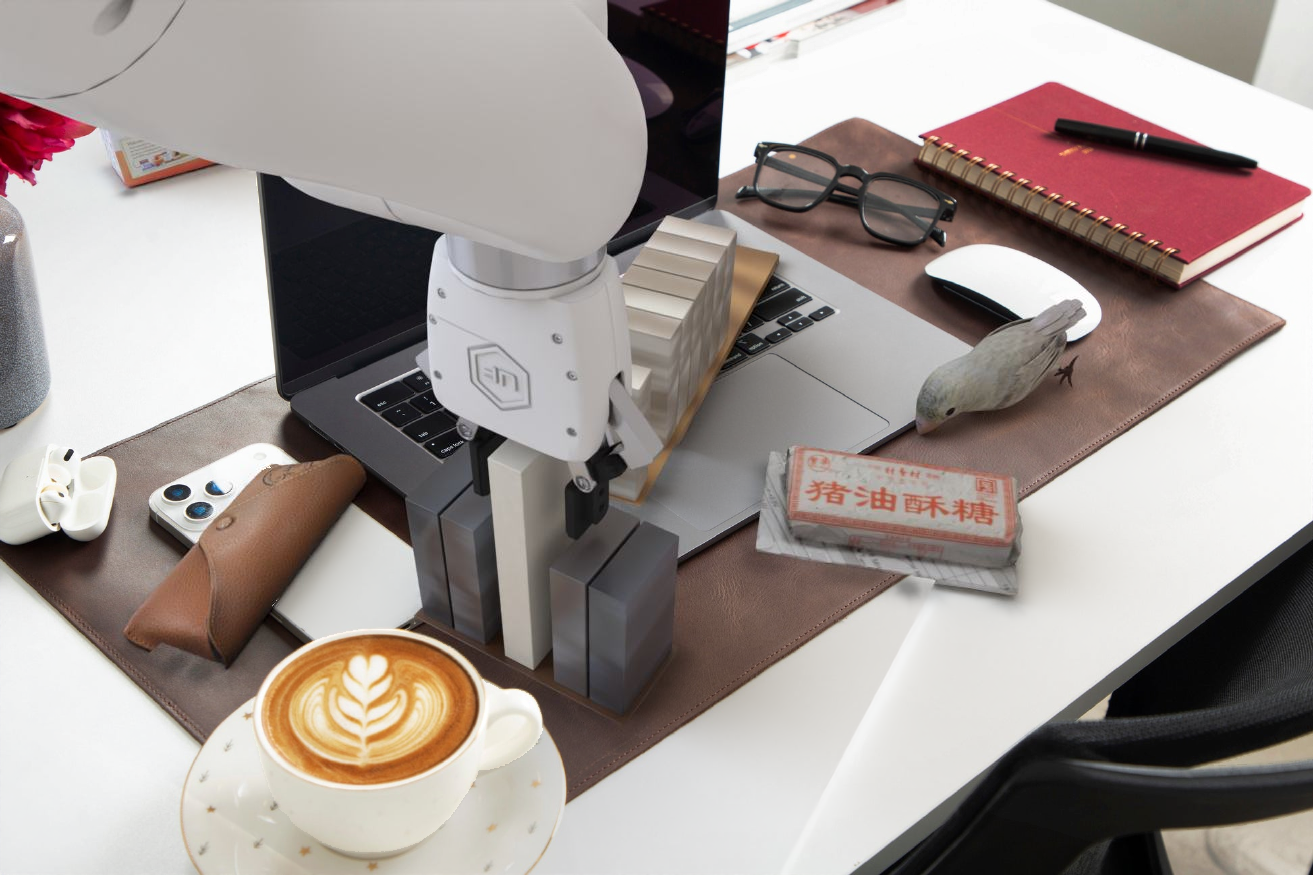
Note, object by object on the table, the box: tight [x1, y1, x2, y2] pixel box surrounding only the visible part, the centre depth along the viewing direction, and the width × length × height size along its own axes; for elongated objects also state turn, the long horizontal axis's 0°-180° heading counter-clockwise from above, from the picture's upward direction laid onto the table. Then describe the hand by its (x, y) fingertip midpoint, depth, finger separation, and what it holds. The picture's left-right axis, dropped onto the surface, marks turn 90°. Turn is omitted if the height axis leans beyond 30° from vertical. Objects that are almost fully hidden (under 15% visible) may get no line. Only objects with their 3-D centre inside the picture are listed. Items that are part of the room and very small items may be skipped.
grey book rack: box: [404, 440, 682, 727], centre depth 70 cm, size 16×7×12 cm, turn 60°
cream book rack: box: [608, 215, 780, 508], centre depth 92 cm, size 36×7×12 cm, turn 159°
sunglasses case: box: [122, 453, 367, 670], centre depth 77 cm, size 18×7×7 cm, turn 163°
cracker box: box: [98, 128, 217, 188], centre depth 112 cm, size 14×6×21 cm, turn 126°
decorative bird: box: [915, 298, 1088, 436], centre depth 91 cm, size 5×16×8 cm, turn 123°
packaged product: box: [755, 445, 1024, 596], centre depth 81 cm, size 18×5×10 cm
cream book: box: [488, 438, 574, 670], centre depth 68 cm, size 2×6×17 cm, turn 150°
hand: (539, 499), depth 65 cm, fingers open, 5 cm apart
